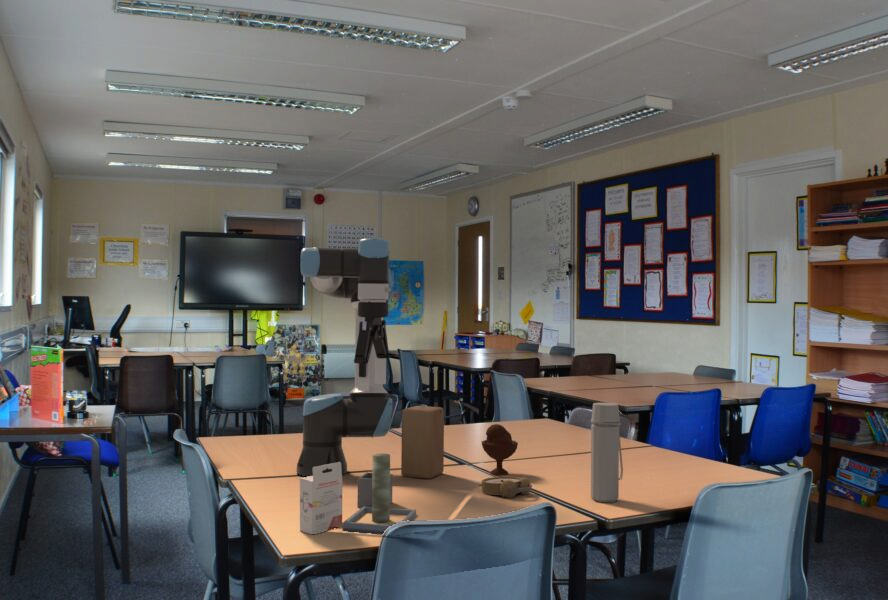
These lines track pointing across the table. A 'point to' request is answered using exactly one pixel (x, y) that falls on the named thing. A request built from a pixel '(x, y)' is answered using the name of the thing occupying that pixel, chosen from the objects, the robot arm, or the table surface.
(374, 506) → the dowel
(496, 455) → the ice cream bowl
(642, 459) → the table surface
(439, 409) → the wooden block
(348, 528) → the tray
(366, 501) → the pot
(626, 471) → the table surface
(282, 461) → the table surface
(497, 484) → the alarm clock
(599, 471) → the water bottle
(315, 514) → the ink cartridge box
